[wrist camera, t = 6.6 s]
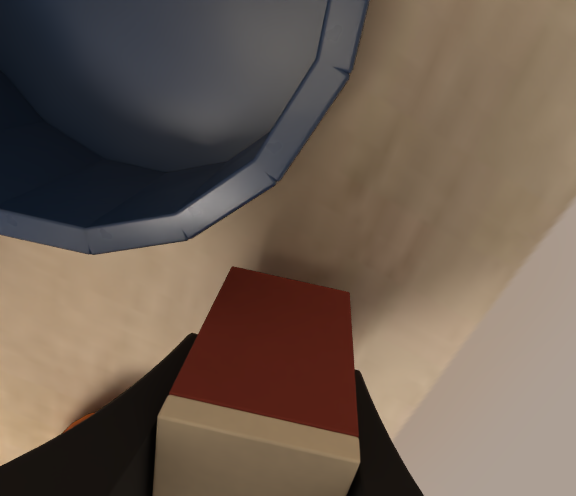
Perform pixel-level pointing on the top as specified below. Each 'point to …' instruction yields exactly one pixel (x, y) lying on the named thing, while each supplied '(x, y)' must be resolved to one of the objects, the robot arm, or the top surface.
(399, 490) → the robot arm
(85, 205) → the pot
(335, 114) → the top surface
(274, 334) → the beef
